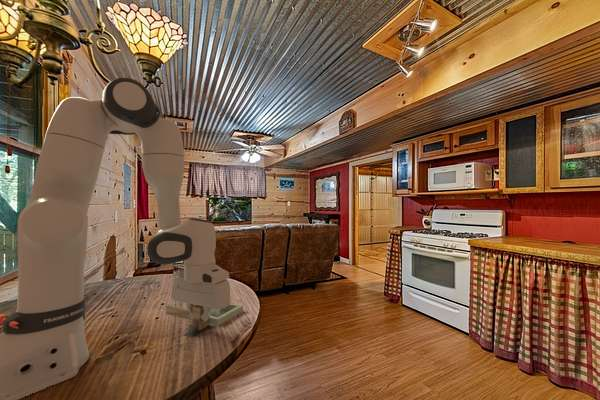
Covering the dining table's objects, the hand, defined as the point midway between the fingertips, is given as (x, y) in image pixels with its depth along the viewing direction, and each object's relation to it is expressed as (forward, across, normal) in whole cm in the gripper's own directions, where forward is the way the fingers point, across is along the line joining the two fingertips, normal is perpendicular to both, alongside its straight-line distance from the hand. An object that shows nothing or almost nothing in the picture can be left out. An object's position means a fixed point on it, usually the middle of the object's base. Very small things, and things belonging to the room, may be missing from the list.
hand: (199, 318), depth 77 cm
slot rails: (+4, -14, +11) cm, 18 cm away
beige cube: (+4, -3, +14) cm, 14 cm away
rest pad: (+4, 0, 0) cm, 4 cm away
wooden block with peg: (+3, 0, 0) cm, 3 cm away
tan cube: (+4, -3, +8) cm, 9 cm away
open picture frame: (+4, -3, +11) cm, 12 cm away
